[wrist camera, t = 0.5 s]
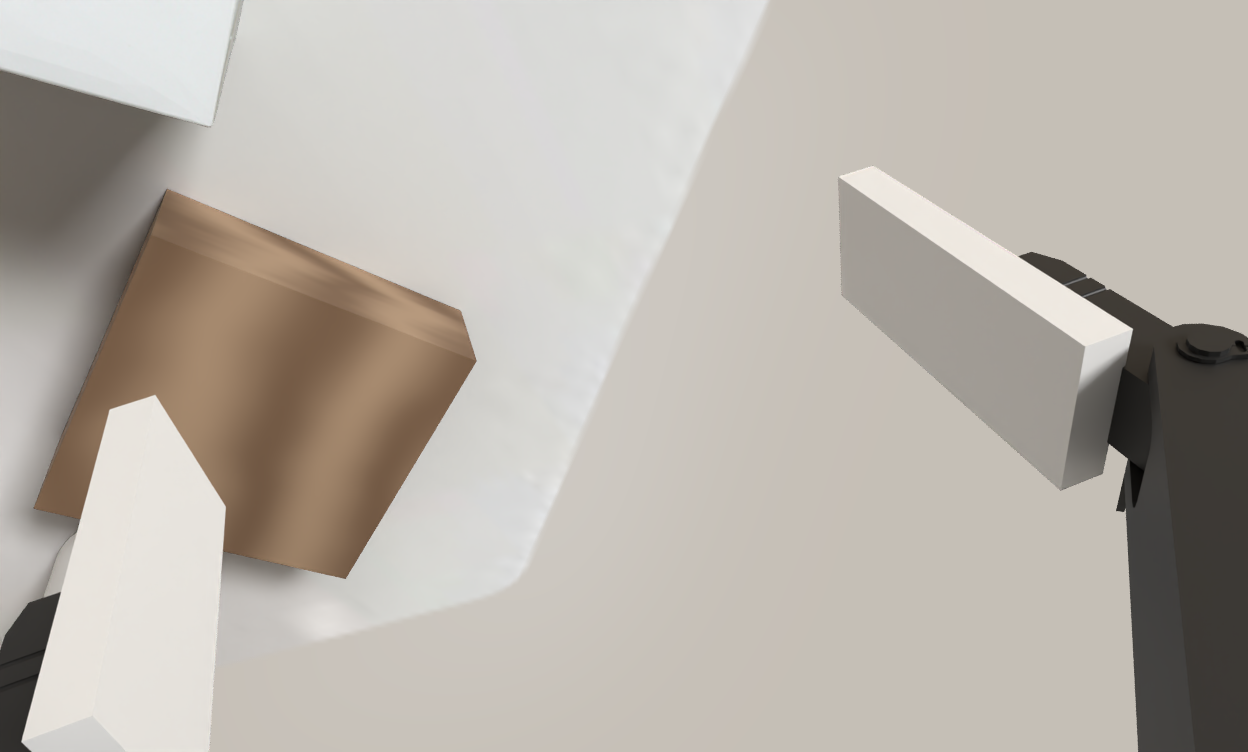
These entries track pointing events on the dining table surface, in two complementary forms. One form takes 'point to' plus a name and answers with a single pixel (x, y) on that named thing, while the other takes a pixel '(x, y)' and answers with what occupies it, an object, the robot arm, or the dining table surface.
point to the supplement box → (125, 50)
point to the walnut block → (271, 383)
